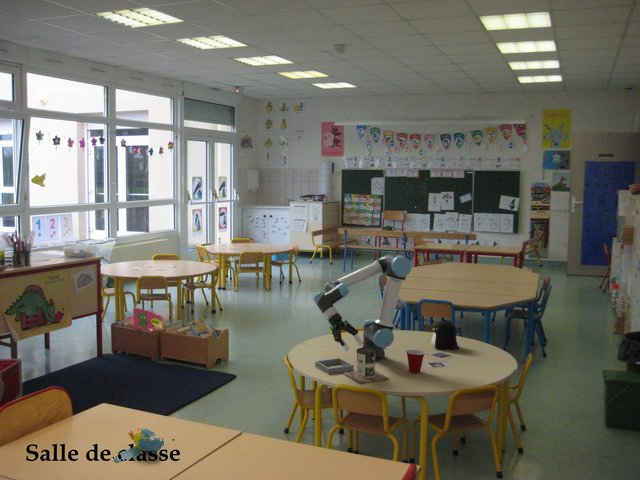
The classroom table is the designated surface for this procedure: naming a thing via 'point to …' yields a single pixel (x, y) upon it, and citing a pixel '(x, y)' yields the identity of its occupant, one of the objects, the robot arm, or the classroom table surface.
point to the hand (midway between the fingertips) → (355, 347)
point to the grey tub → (343, 368)
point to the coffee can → (365, 362)
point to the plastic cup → (415, 360)
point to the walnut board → (360, 380)
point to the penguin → (444, 335)
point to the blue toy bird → (142, 444)
